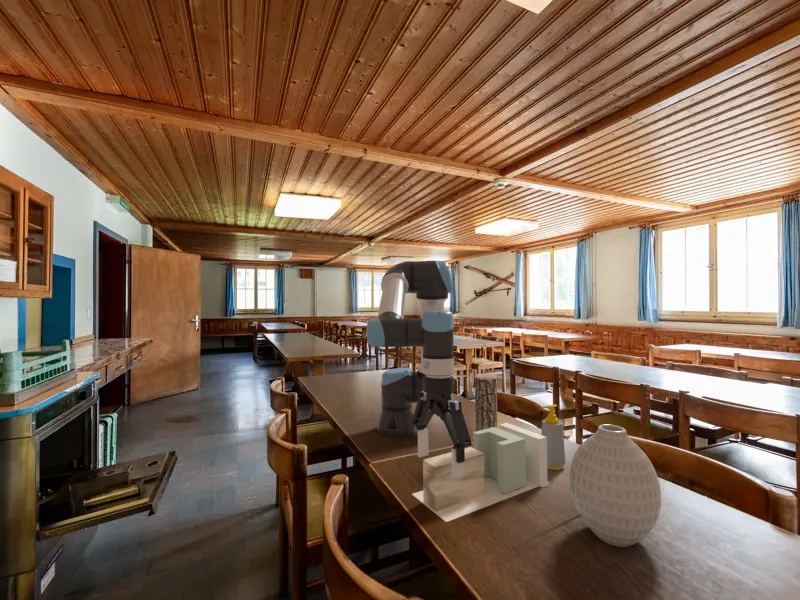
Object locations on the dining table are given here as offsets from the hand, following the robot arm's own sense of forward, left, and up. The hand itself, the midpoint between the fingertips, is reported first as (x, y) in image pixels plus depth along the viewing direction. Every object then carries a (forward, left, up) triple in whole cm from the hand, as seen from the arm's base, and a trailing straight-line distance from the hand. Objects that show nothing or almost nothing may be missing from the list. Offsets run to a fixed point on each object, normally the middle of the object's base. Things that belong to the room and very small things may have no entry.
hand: (439, 465), depth 88 cm
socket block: (0, +20, -9) cm, 22 cm away
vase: (+28, +24, -10) cm, 38 cm away
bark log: (-17, +32, -10) cm, 37 cm away
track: (0, +14, -10) cm, 17 cm away
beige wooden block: (0, +5, -9) cm, 10 cm away
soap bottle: (0, +42, -10) cm, 43 cm away
